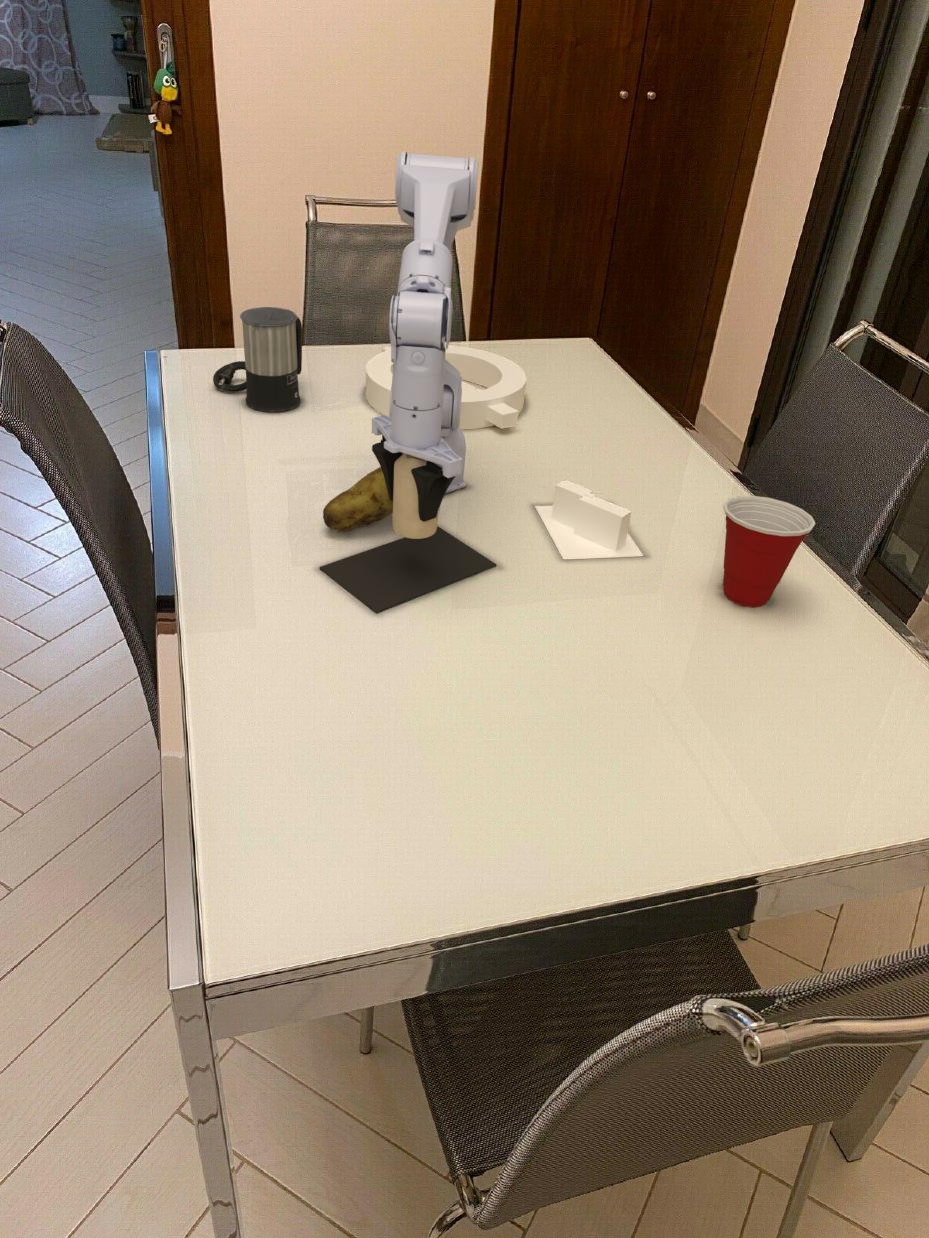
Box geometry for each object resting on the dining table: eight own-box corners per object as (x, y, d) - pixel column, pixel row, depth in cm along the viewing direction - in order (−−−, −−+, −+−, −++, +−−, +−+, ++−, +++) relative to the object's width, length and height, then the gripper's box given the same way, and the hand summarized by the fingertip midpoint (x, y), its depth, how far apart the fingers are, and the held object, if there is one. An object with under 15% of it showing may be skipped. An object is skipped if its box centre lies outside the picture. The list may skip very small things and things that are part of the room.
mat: (437, 527, 128) (437, 525, 128) (496, 566, 121) (496, 564, 120) (319, 568, 117) (319, 566, 117) (376, 613, 110) (376, 611, 110)
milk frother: (296, 415, 156) (293, 326, 147) (200, 408, 155) (191, 318, 147) (308, 384, 167) (306, 300, 159) (219, 378, 167) (212, 293, 158)
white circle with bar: (383, 362, 179) (384, 337, 177) (529, 379, 177) (532, 354, 175) (349, 418, 156) (349, 390, 154) (515, 438, 154) (518, 410, 152)
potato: (318, 510, 129) (318, 457, 125) (411, 507, 132) (413, 454, 128) (324, 541, 123) (324, 485, 118) (421, 536, 125) (424, 482, 121)
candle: (431, 542, 113) (435, 466, 107) (387, 535, 114) (389, 459, 108) (441, 521, 117) (446, 447, 112) (398, 514, 118) (401, 440, 112)
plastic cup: (791, 583, 122) (817, 501, 115) (787, 627, 114) (815, 540, 107) (707, 564, 125) (728, 483, 118) (697, 605, 116) (719, 520, 109)
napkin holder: (645, 556, 125) (652, 518, 122) (563, 560, 123) (569, 521, 120) (608, 503, 137) (614, 467, 134) (533, 506, 135) (537, 469, 132)
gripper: (350, 387, 108) (350, 493, 116) (429, 431, 99) (423, 542, 107) (399, 376, 112) (396, 479, 120) (479, 417, 103) (470, 526, 111)
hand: (412, 508), depth 114 cm, fingers closed on candle, 5 cm apart
